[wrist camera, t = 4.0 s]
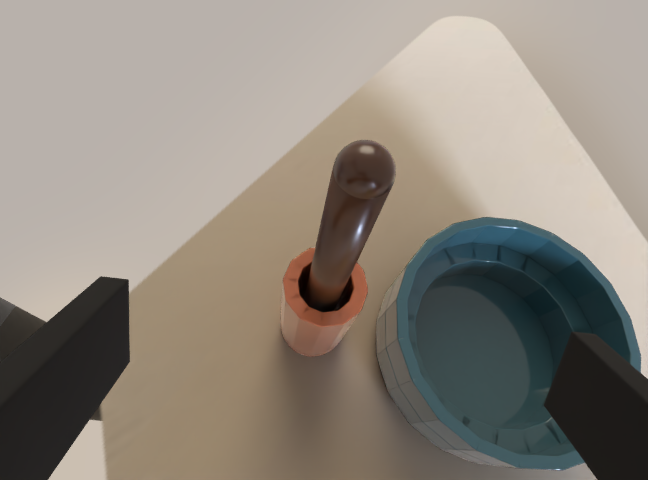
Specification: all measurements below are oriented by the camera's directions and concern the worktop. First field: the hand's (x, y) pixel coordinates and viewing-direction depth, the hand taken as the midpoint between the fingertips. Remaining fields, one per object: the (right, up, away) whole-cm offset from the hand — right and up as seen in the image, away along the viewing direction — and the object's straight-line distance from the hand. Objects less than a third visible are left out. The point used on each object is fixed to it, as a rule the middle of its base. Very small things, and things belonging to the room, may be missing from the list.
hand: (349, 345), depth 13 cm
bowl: (+11, -5, +19) cm, 23 cm away
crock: (-2, -3, +19) cm, 19 cm away
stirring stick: (-2, -3, +18) cm, 18 cm away
